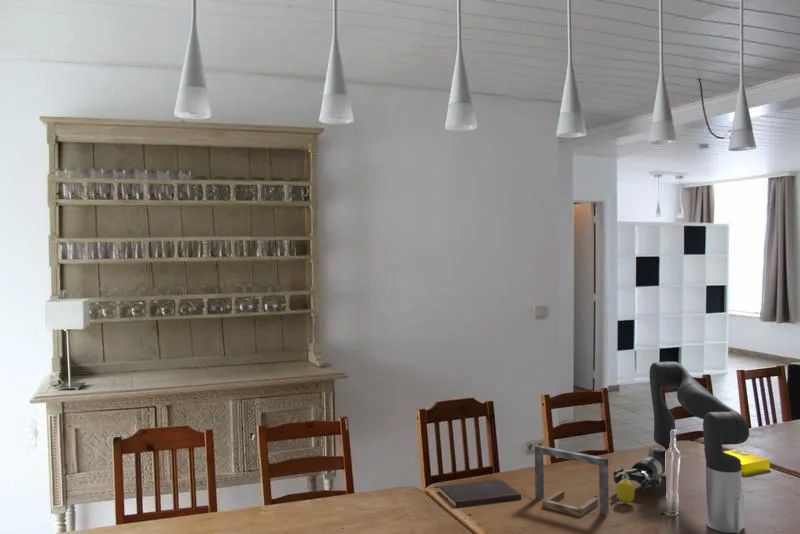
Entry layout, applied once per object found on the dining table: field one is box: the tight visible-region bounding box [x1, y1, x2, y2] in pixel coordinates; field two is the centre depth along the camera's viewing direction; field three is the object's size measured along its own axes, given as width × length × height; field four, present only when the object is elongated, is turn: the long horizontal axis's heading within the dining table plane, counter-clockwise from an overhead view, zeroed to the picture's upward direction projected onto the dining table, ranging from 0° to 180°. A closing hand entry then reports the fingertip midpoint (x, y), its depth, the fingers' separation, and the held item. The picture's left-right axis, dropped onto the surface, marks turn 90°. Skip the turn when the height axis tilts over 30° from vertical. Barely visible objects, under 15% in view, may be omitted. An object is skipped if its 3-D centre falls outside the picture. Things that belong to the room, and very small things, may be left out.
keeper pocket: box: [534, 444, 610, 518], centre depth 206 cm, size 24×12×17 cm, turn 50°
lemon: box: [616, 479, 636, 505], centre depth 207 cm, size 6×6×8 cm
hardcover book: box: [438, 478, 522, 508], centre depth 217 cm, size 16×23×2 cm
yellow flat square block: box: [723, 449, 771, 476], centre depth 243 cm, size 15×15×5 cm
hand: (628, 482), depth 210 cm, fingers open, 8 cm apart
